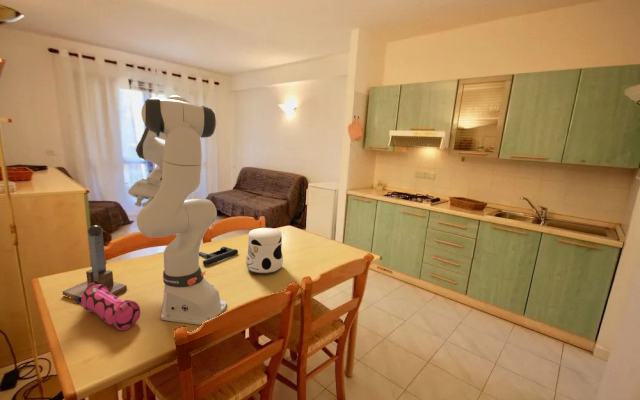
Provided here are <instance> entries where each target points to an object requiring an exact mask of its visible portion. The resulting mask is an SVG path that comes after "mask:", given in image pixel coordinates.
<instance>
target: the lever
mask: <svg viewBox="0 0 640 400" xmlns="http://www.w3.org/2000/svg"><path fill="white" fill-rule="evenodd" d="M103 231H104V230H103V228H102V226H101V225H96V224H94V225H91V226H90V227H88V229H87V231H86V232H87V236H88V237H87V238H88V243H89V256H90V263H91V269H92V274H93V281H96V282H99V281H98V274H101V273H103V272H105V271H107V266H106V256H105V254H106V253H105V246H104V245H105V244H104V235H103Z"/></svg>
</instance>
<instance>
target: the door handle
mask: <svg viewBox="0 0 640 400" xmlns="http://www.w3.org/2000/svg"><path fill="white" fill-rule="evenodd" d="M238 253H239V250H238V249H236V248H234V249H233V248H230V247H227V246H221V248H220V249H219V250H217V251H214V252H210V253H206V252H203V251H199V257H202V258H206V259H205V260H203V261H202V264H203V266H210V265H212V264H213V265H214V264H217V263H219V262H223V261H225V260H227V259H229V258H231V257H234V256H237V255H238Z"/></svg>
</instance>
